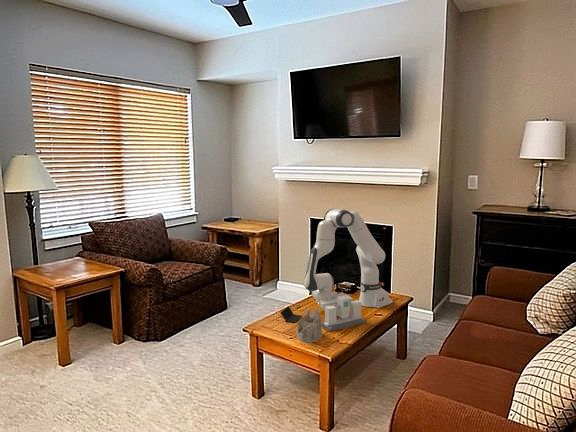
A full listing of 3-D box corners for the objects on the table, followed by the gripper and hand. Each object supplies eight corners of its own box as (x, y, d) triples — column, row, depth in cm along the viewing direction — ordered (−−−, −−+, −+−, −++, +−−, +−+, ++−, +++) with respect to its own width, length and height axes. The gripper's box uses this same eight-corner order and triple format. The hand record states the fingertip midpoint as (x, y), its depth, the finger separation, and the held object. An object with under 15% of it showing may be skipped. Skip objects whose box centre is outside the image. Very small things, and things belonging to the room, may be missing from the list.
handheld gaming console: (298, 321, 247) (288, 306, 248) (288, 327, 248) (278, 313, 250) (303, 316, 258) (293, 302, 259) (293, 322, 259) (284, 308, 261)
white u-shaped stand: (355, 316, 256) (355, 298, 254) (366, 322, 247) (366, 303, 245) (319, 325, 244) (319, 305, 243) (329, 331, 236) (329, 311, 234)
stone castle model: (305, 326, 242) (304, 301, 239) (328, 335, 232) (328, 309, 228) (286, 337, 231) (285, 311, 228) (310, 347, 220) (310, 320, 217)
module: (343, 313, 249) (343, 295, 247) (349, 317, 244) (349, 298, 242) (336, 315, 246) (337, 296, 245) (342, 318, 242) (342, 299, 240)
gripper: (315, 297, 250) (328, 304, 238) (344, 291, 260) (358, 298, 248) (315, 307, 251) (328, 315, 239) (344, 301, 261) (358, 308, 249)
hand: (343, 306), depth 243 cm, fingers closed on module, 4 cm apart
